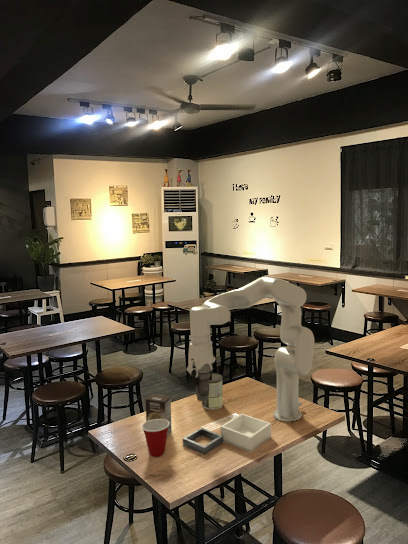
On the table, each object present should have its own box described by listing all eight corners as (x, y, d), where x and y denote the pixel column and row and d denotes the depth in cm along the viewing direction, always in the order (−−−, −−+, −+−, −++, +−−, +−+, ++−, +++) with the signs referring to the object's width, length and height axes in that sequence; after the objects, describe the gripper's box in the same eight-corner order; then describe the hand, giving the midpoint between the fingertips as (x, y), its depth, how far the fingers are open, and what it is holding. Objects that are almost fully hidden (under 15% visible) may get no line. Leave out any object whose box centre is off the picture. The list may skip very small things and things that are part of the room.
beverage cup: (210, 403, 168) (208, 353, 165) (191, 402, 170) (189, 352, 167) (213, 395, 175) (212, 347, 172) (195, 394, 177) (194, 346, 174)
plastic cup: (159, 442, 177) (158, 414, 175) (176, 452, 169) (175, 423, 167) (136, 453, 169) (135, 423, 168) (153, 464, 162) (152, 433, 160)
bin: (241, 426, 188) (241, 413, 187) (271, 437, 179) (271, 423, 178) (220, 440, 177) (220, 426, 176) (250, 452, 168) (250, 437, 167)
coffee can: (198, 408, 207) (197, 379, 205) (205, 399, 217) (205, 372, 215) (219, 411, 204) (218, 382, 202) (225, 402, 213) (225, 374, 211)
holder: (201, 434, 183) (201, 427, 182) (223, 442, 175) (223, 435, 175) (183, 445, 174) (182, 438, 174) (204, 455, 167) (204, 447, 166)
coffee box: (146, 435, 182) (144, 399, 180) (153, 428, 188) (151, 392, 186) (166, 439, 179) (164, 401, 177) (172, 431, 185) (171, 395, 183)
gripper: (207, 332, 178) (209, 374, 180) (178, 342, 165) (180, 387, 167) (222, 334, 173) (223, 378, 175) (192, 346, 160) (194, 392, 162)
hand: (202, 382), depth 171 cm, fingers closed on beverage cup, 6 cm apart
